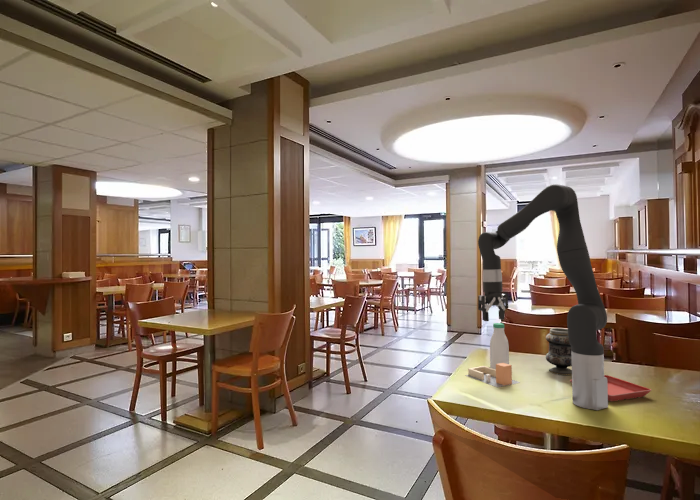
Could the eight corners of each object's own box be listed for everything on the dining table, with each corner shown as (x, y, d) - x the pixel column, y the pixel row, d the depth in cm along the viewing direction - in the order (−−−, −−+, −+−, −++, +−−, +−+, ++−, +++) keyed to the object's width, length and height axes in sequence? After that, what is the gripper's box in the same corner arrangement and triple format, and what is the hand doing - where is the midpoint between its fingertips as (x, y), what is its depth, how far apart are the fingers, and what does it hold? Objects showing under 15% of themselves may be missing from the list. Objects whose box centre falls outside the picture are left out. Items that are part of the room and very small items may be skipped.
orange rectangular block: (511, 383, 150) (511, 365, 150) (504, 385, 148) (503, 366, 148) (503, 380, 154) (503, 362, 154) (496, 382, 152) (495, 364, 152)
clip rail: (520, 385, 151) (520, 375, 152) (497, 390, 146) (497, 380, 146) (486, 373, 167) (486, 365, 167) (465, 377, 161) (464, 369, 161)
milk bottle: (512, 372, 168) (511, 325, 168) (493, 372, 168) (492, 325, 169) (505, 367, 176) (504, 322, 176) (487, 367, 176) (486, 322, 176)
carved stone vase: (584, 376, 161) (583, 332, 162) (554, 376, 162) (553, 332, 162) (568, 368, 173) (567, 326, 174) (540, 368, 174) (539, 327, 174)
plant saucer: (611, 405, 131) (611, 395, 131) (568, 387, 149) (568, 379, 149) (653, 399, 136) (652, 389, 136) (606, 383, 154) (606, 374, 154)
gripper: (486, 281, 156) (487, 322, 155) (512, 280, 162) (513, 319, 162) (472, 281, 163) (474, 320, 162) (498, 279, 169) (499, 317, 168)
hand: (493, 320), depth 162 cm, fingers open, 8 cm apart
